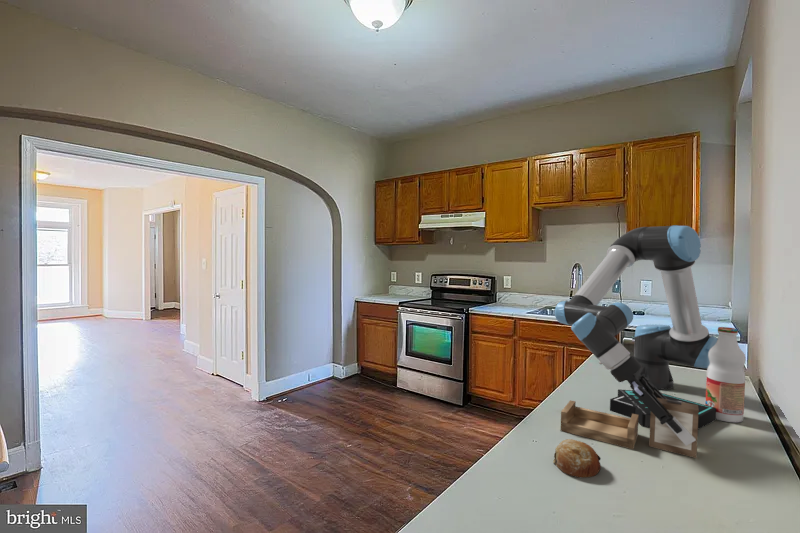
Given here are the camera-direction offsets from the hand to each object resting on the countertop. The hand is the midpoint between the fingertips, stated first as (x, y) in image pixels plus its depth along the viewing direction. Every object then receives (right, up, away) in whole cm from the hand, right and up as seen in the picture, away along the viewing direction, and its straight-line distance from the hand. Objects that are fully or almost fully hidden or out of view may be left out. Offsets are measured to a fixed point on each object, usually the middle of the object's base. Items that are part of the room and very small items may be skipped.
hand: (690, 438), depth 103 cm
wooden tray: (-18, -3, +11) cm, 21 cm away
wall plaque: (+9, -4, +25) cm, 27 cm away
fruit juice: (+28, -4, +24) cm, 37 cm away
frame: (-3, -4, +2) cm, 5 cm away
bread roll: (-32, -4, -7) cm, 33 cm away
